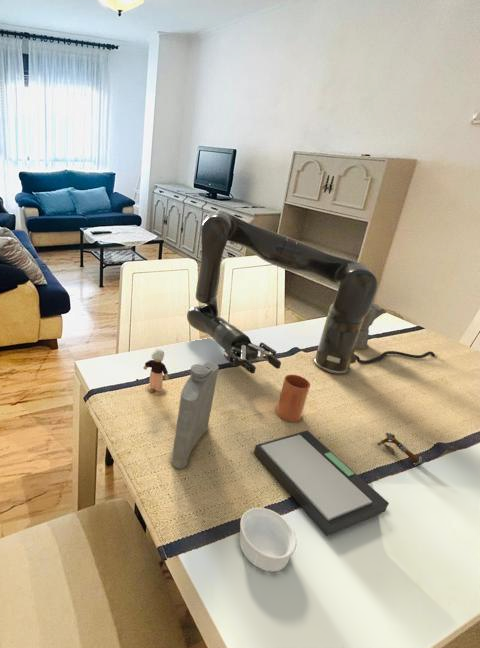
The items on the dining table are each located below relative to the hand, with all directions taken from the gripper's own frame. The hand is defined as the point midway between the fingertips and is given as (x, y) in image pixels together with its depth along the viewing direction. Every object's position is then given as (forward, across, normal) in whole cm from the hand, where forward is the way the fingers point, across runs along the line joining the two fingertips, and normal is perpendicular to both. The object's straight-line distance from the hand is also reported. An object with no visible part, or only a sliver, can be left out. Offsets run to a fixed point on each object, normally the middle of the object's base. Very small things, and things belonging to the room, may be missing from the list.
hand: (267, 368), depth 104 cm
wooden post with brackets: (+29, +14, +7) cm, 33 cm away
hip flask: (+11, -30, +8) cm, 33 cm away
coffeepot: (-14, +50, +7) cm, 53 cm away
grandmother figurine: (-9, -29, +8) cm, 31 cm away
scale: (+28, -10, +7) cm, 31 cm away
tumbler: (+10, 0, +7) cm, 12 cm away
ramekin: (+36, -30, +8) cm, 47 cm away
